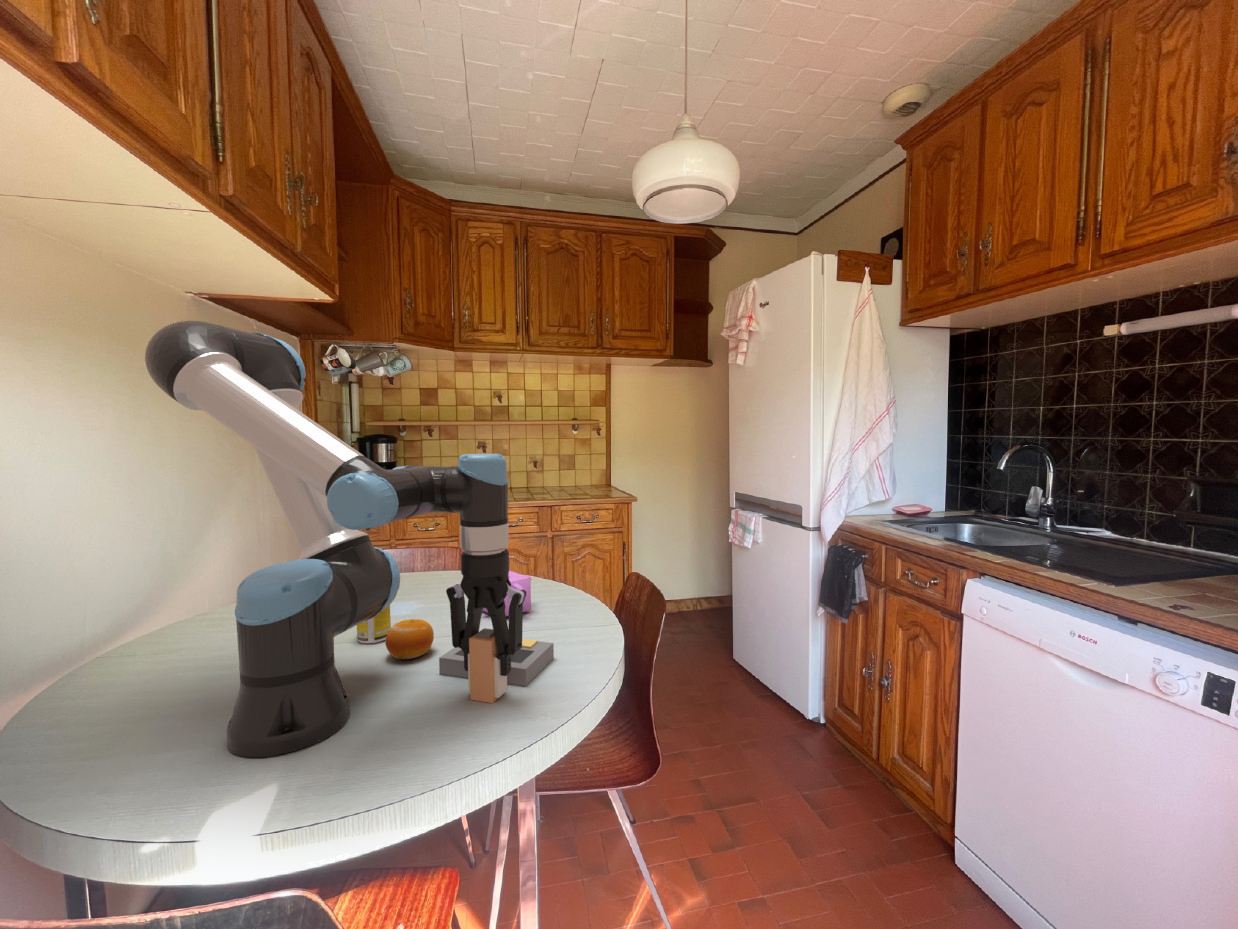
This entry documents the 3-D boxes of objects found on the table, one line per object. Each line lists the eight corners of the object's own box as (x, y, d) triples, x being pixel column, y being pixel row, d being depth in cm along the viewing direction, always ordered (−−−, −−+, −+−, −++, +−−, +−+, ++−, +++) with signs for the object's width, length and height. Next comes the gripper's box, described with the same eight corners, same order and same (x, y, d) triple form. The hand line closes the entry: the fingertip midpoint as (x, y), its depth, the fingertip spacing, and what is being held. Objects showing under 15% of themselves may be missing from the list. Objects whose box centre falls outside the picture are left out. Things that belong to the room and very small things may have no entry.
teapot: (461, 608, 128) (460, 568, 128) (510, 596, 138) (510, 558, 137) (498, 628, 115) (497, 583, 115) (550, 613, 125) (549, 571, 124)
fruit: (442, 626, 107) (420, 600, 103) (439, 657, 99) (415, 630, 95) (406, 645, 107) (382, 620, 103) (399, 677, 99) (373, 651, 95)
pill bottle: (397, 633, 113) (395, 580, 112) (380, 645, 106) (378, 589, 106) (368, 632, 113) (366, 579, 113) (350, 644, 107) (348, 588, 106)
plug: (492, 703, 83) (491, 637, 82) (470, 699, 84) (468, 635, 83) (505, 691, 86) (503, 628, 86) (483, 688, 88) (482, 626, 87)
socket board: (526, 686, 88) (525, 666, 88) (439, 674, 93) (439, 655, 93) (553, 658, 99) (553, 640, 99) (475, 648, 104) (474, 632, 104)
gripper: (543, 547, 85) (545, 688, 86) (452, 542, 90) (456, 675, 91) (522, 558, 78) (524, 711, 79) (424, 551, 83) (428, 695, 84)
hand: (488, 691), depth 85 cm, fingers closed on plug, 4 cm apart
